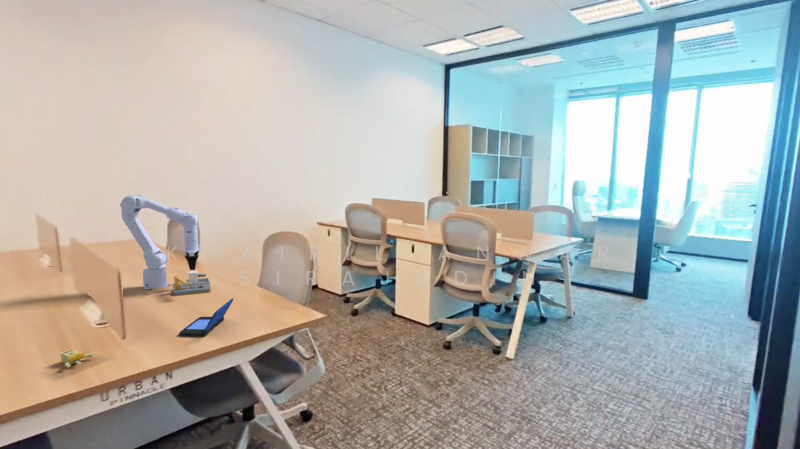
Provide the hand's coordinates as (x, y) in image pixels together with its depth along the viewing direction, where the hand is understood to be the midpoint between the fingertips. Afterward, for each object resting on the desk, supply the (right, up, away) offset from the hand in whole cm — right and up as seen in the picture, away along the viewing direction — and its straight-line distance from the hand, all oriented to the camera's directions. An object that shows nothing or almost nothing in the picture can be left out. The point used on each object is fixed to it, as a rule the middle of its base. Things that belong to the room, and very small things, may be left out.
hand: (192, 268), depth 195 cm
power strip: (+5, -10, -9) cm, 14 cm away
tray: (0, -8, +1) cm, 9 cm away
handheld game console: (+30, -17, -49) cm, 60 cm away
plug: (+2, -8, +2) cm, 8 cm away
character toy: (+5, -21, -77) cm, 80 cm away
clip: (+3, -9, -16) cm, 18 cm away
